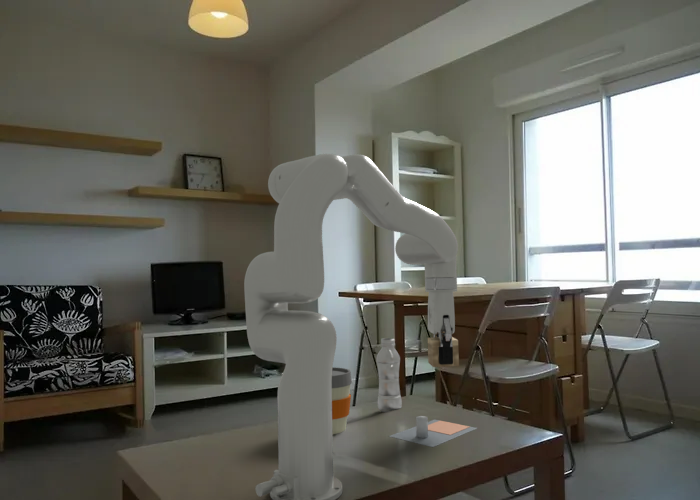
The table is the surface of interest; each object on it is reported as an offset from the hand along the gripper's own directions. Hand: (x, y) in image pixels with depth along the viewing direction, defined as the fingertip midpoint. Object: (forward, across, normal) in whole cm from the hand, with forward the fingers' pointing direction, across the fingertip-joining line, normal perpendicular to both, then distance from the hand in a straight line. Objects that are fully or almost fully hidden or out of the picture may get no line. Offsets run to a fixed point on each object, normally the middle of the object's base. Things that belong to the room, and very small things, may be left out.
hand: (443, 361), depth 129 cm
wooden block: (+1, 0, 0) cm, 1 cm away
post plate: (+17, +3, -3) cm, 18 cm away
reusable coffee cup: (+17, -2, -28) cm, 33 cm away
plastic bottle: (+17, -22, -11) cm, 30 cm away
